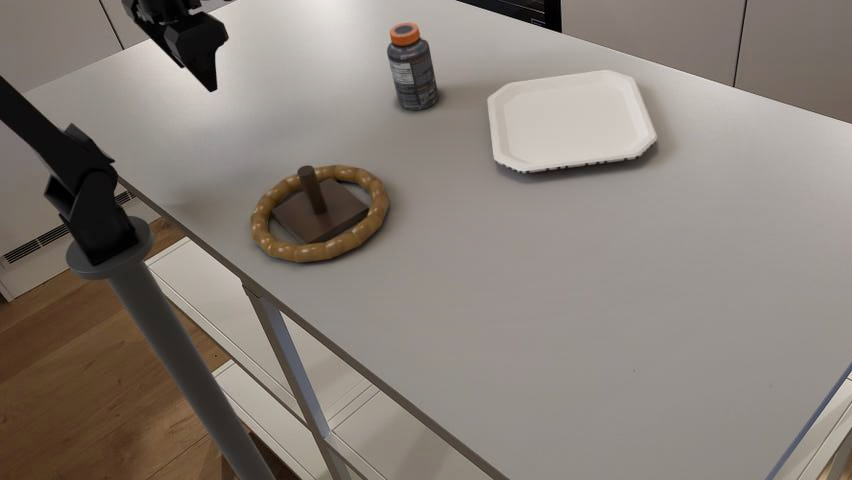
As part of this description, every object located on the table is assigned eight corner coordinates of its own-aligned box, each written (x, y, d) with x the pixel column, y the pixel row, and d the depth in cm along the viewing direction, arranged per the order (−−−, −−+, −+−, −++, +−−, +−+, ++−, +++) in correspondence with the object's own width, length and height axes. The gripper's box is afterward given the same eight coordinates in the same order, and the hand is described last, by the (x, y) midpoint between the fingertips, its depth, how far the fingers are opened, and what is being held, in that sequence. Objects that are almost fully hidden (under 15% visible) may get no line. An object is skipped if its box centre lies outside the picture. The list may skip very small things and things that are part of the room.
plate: (487, 98, 109) (485, 85, 107) (630, 79, 108) (630, 65, 107) (497, 187, 94) (495, 173, 93) (663, 165, 93) (664, 151, 92)
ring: (301, 287, 86) (296, 275, 84) (229, 221, 96) (223, 209, 94) (417, 212, 93) (414, 199, 91) (338, 158, 103) (335, 146, 101)
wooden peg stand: (308, 251, 90) (290, 205, 85) (273, 217, 95) (254, 172, 90) (370, 214, 93) (357, 168, 88) (333, 184, 99) (318, 138, 94)
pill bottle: (432, 85, 113) (419, 13, 105) (443, 104, 109) (430, 32, 101) (394, 95, 113) (378, 24, 105) (403, 115, 108) (387, 43, 100)
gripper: (245, -46, 85) (286, 76, 96) (179, -81, 96) (223, 32, 107) (152, -9, 81) (207, 115, 92) (95, -50, 92) (150, 64, 103)
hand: (198, 78), depth 98 cm, fingers open, 9 cm apart
